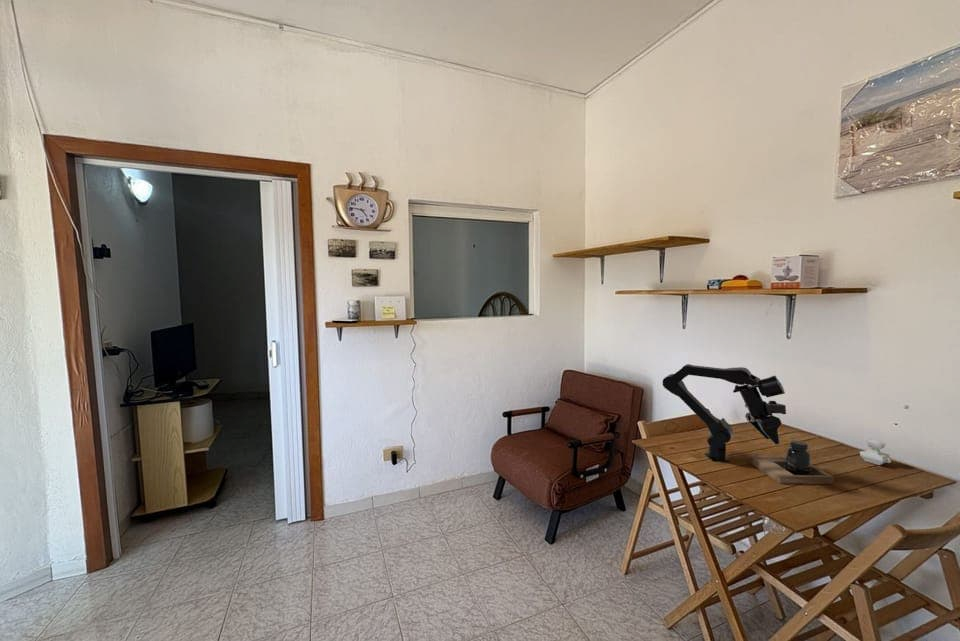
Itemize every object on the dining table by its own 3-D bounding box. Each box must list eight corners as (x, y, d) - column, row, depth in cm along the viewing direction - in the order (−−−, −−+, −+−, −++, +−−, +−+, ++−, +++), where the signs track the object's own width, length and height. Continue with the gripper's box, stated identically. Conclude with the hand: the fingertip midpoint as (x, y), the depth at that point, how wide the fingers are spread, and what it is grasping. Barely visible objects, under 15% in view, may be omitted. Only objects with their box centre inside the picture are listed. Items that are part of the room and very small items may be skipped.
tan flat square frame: (748, 461, 154) (748, 455, 154) (795, 461, 153) (796, 455, 153) (779, 483, 137) (780, 476, 137) (833, 483, 137) (833, 476, 136)
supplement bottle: (813, 480, 139) (815, 447, 138) (790, 477, 141) (792, 445, 140) (803, 471, 146) (805, 439, 145) (781, 469, 148) (783, 438, 147)
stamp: (894, 465, 150) (896, 444, 149) (886, 469, 147) (888, 447, 146) (863, 456, 158) (864, 436, 157) (855, 459, 155) (857, 439, 154)
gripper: (787, 396, 137) (808, 440, 134) (767, 391, 155) (786, 430, 152) (752, 406, 140) (773, 449, 137) (737, 400, 158) (755, 438, 155)
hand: (772, 441), depth 145 cm, fingers open, 9 cm apart
